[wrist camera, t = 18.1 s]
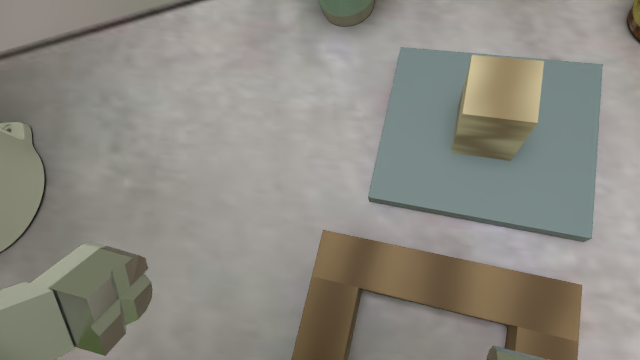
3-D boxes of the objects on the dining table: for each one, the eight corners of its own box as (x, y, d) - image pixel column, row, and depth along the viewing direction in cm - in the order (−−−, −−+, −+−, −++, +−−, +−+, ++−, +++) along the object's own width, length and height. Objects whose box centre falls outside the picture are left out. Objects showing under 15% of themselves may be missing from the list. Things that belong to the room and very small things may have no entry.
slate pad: (369, 201, 37) (368, 196, 36) (400, 56, 42) (400, 47, 40) (583, 241, 33) (591, 238, 31) (595, 73, 37) (602, 64, 36)
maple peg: (450, 152, 36) (462, 113, 29) (458, 103, 37) (471, 54, 30) (510, 161, 35) (537, 123, 28) (516, 109, 36) (544, 60, 29)
